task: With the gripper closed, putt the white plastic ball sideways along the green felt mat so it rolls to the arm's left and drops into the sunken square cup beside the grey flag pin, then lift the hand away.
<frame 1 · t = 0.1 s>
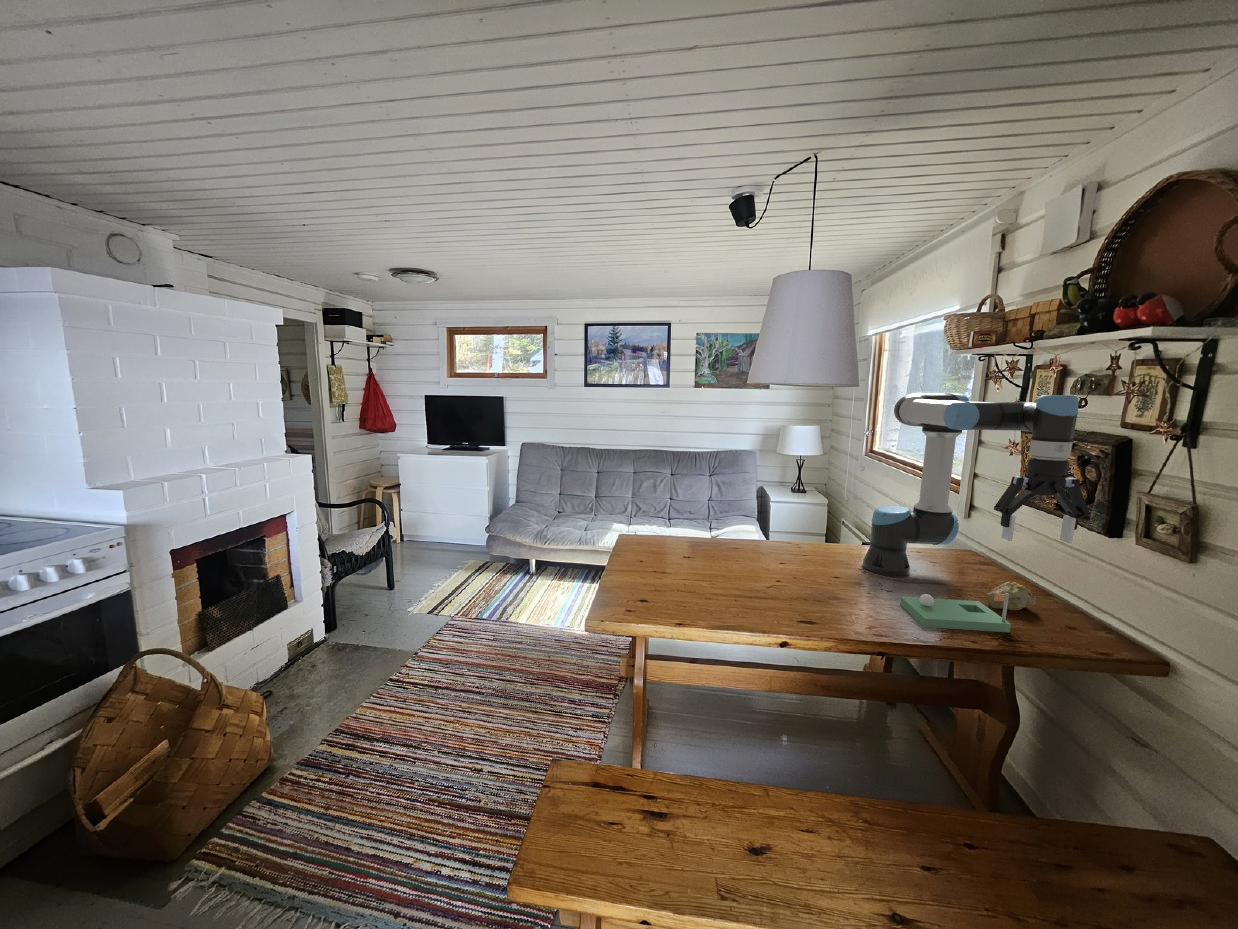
hand: (1035, 540, 118), 28 cm above the table, fingers open, 13 cm apart
rock: (1004, 606, 143), on the table
ball: (926, 600, 137), point 4 cm above the table, touching green
green: (951, 617, 135), on the table
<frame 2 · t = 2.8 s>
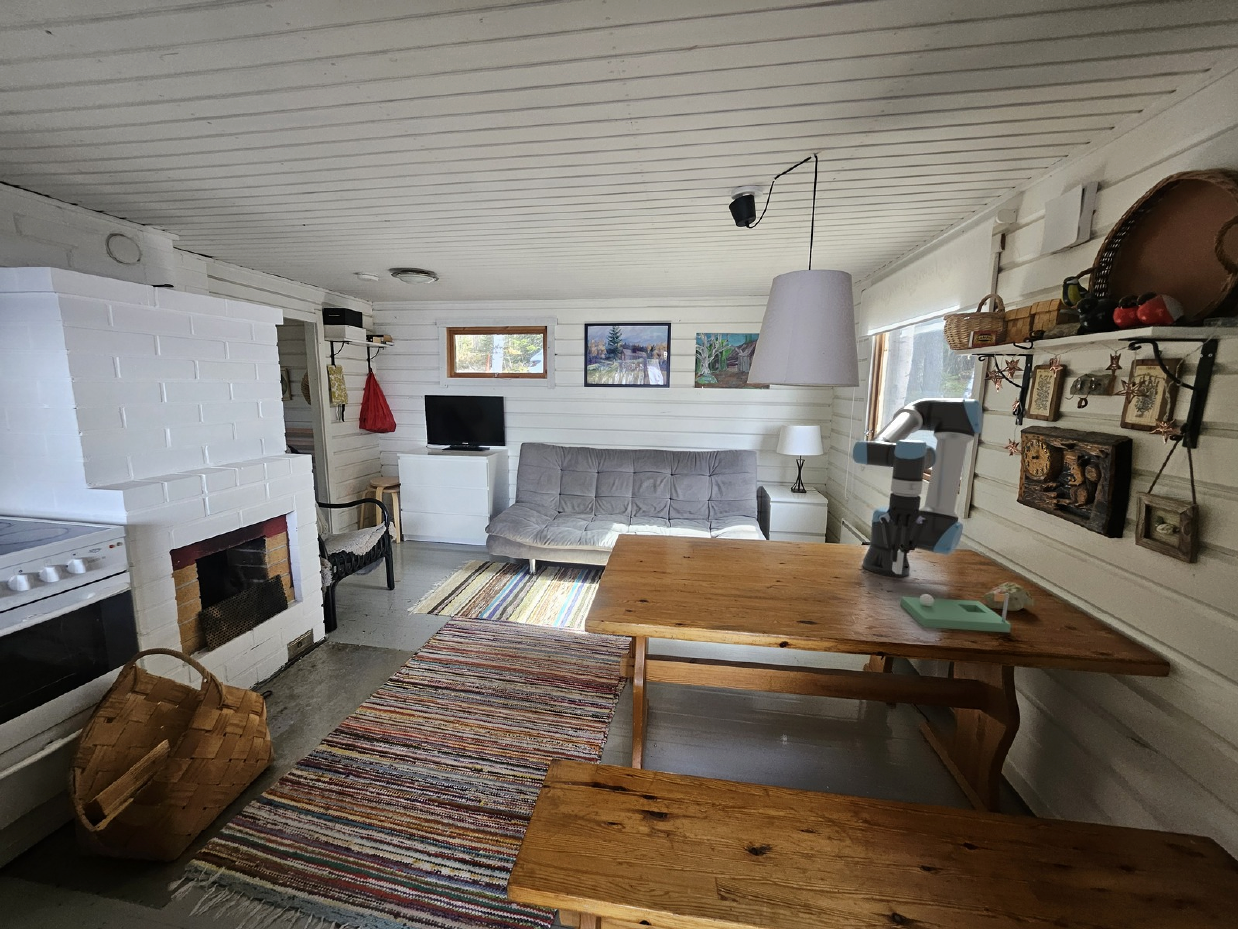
hand: (896, 572, 136), 13 cm above the table, fingers closed
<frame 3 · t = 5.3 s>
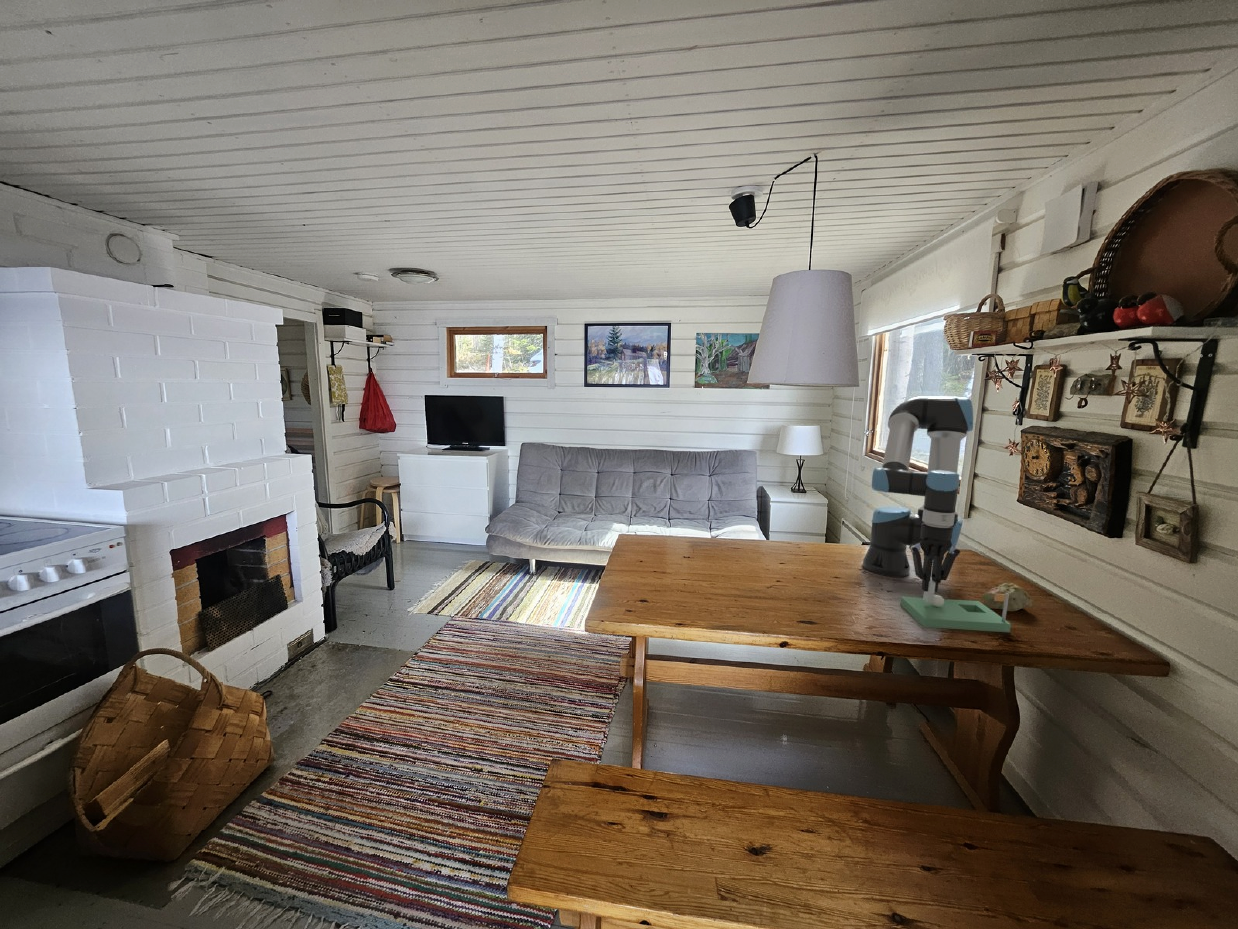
hand: (927, 601, 137), 4 cm above the table, fingers closed
ball: (937, 600, 136), point 4 cm above the table, tilted 90°, touching green, gripper
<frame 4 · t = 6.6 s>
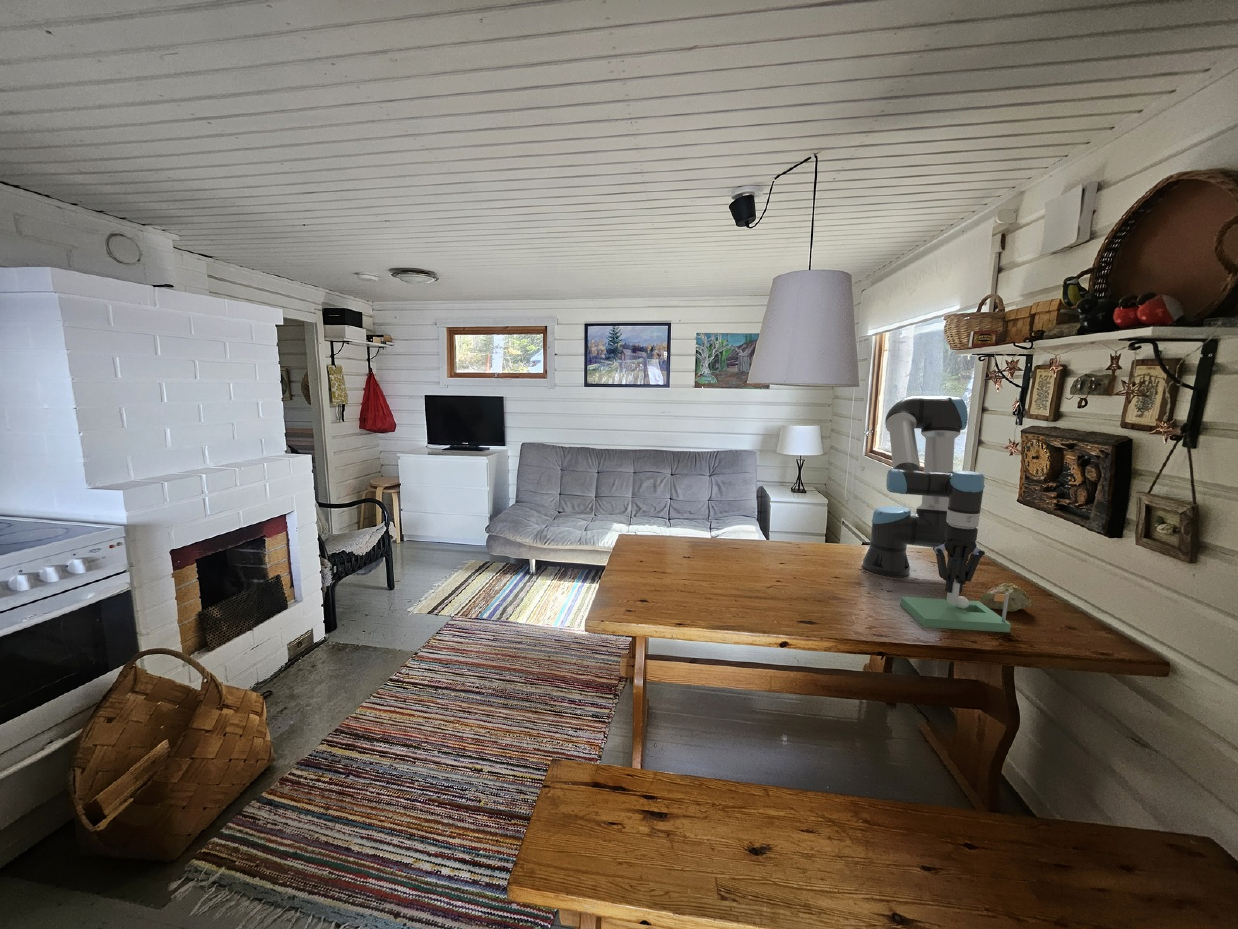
hand: (951, 602, 136), 4 cm above the table, fingers closed
ball: (961, 602, 136), point 4 cm above the table, tilted 79°, touching green
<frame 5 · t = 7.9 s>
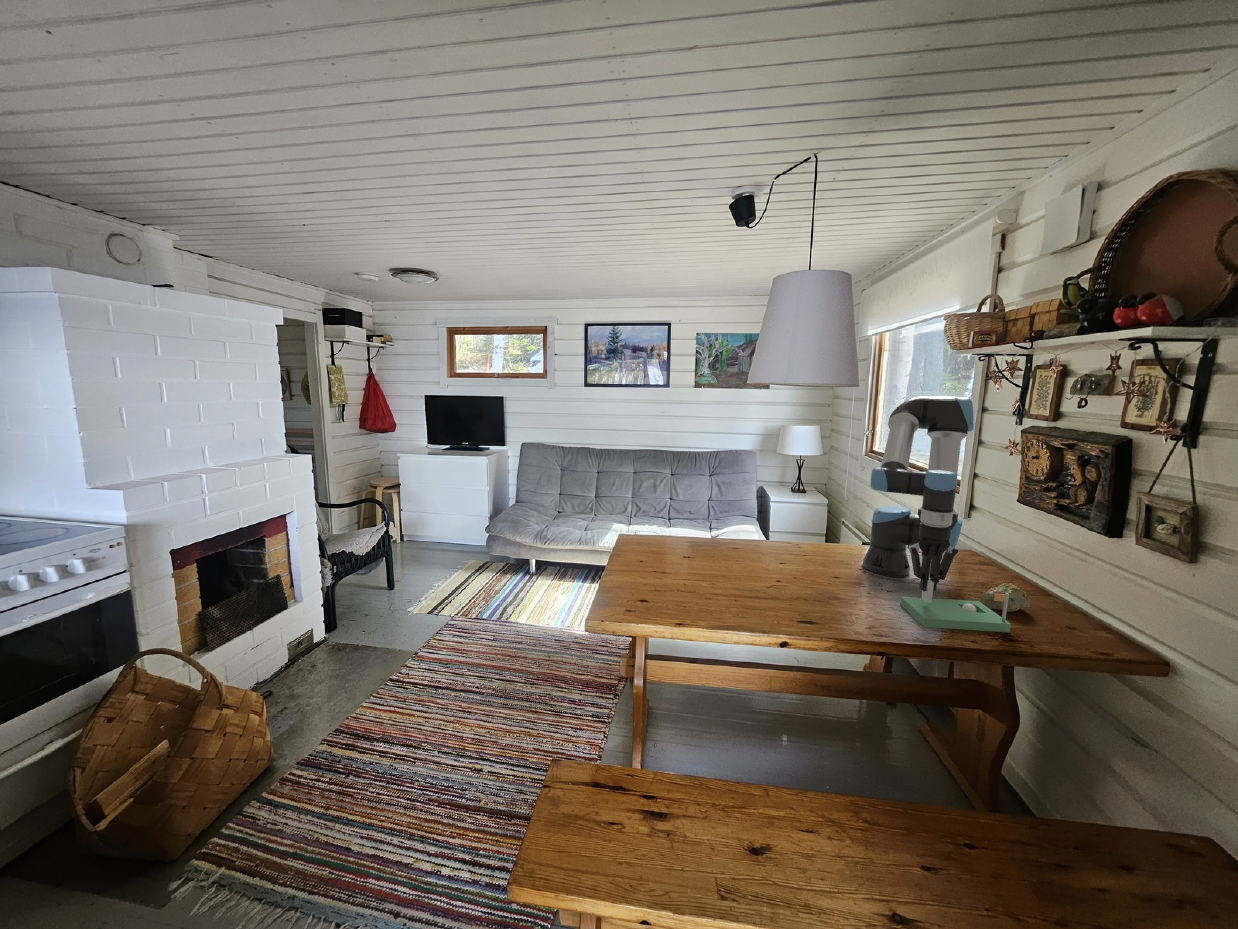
hand: (926, 600, 137), 4 cm above the table, fingers closed
ball: (969, 609, 136), point 2 cm above the table, tilted 20°, touching green
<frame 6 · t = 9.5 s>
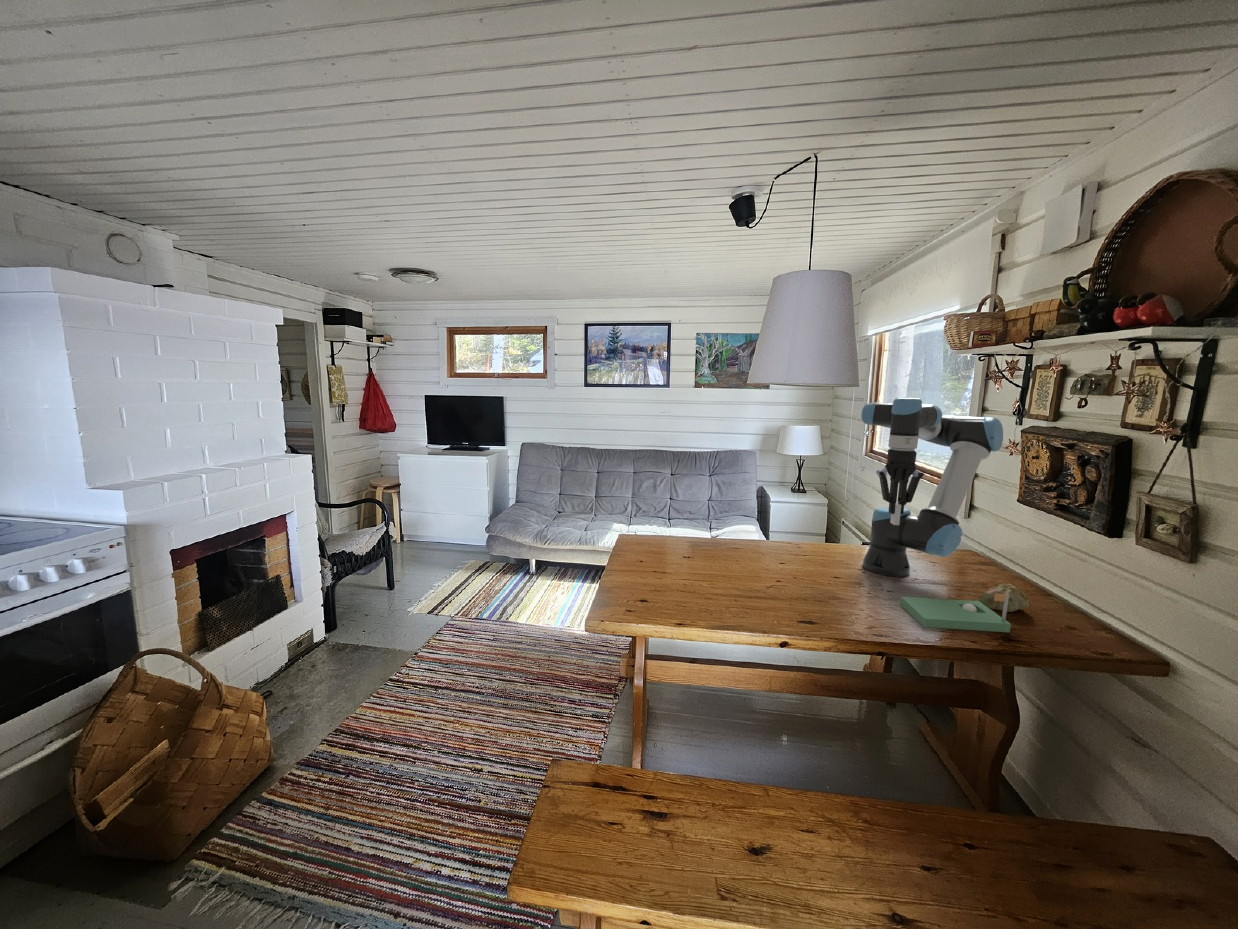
hand: (894, 523, 145), 24 cm above the table, fingers closed
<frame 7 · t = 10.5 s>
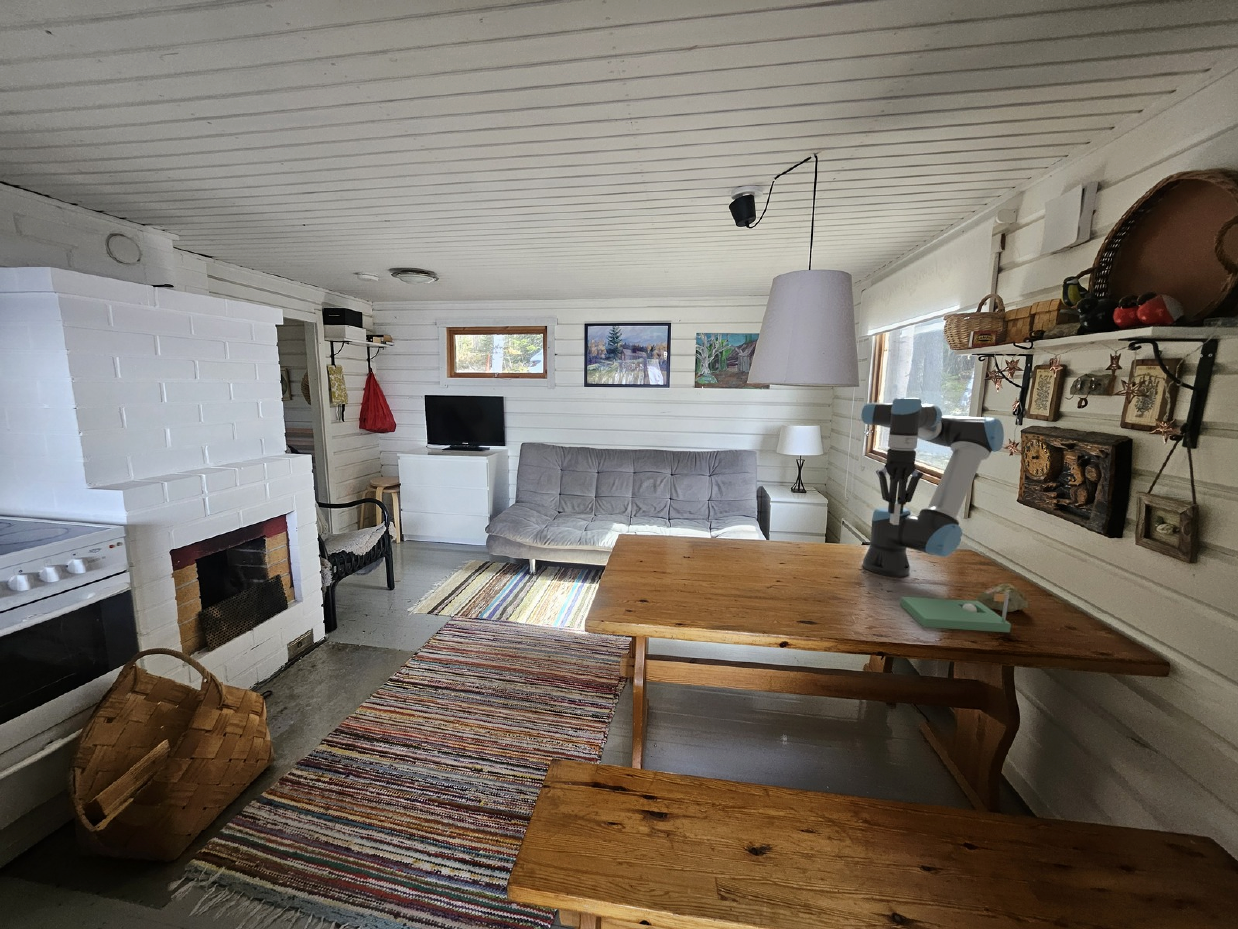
hand: (894, 523, 145), 24 cm above the table, fingers closed
at the end: ball 0.7 cm from the target spot on the green, point 2.0 cm above the green's base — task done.
